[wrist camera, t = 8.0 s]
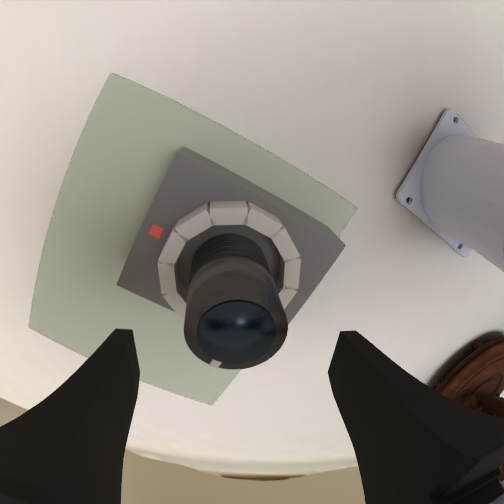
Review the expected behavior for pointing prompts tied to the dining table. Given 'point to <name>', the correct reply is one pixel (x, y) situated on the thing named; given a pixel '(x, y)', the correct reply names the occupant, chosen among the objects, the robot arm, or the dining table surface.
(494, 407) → the scroll
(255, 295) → the lens
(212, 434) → the dining table surface
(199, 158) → the camera body
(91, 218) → the mat
